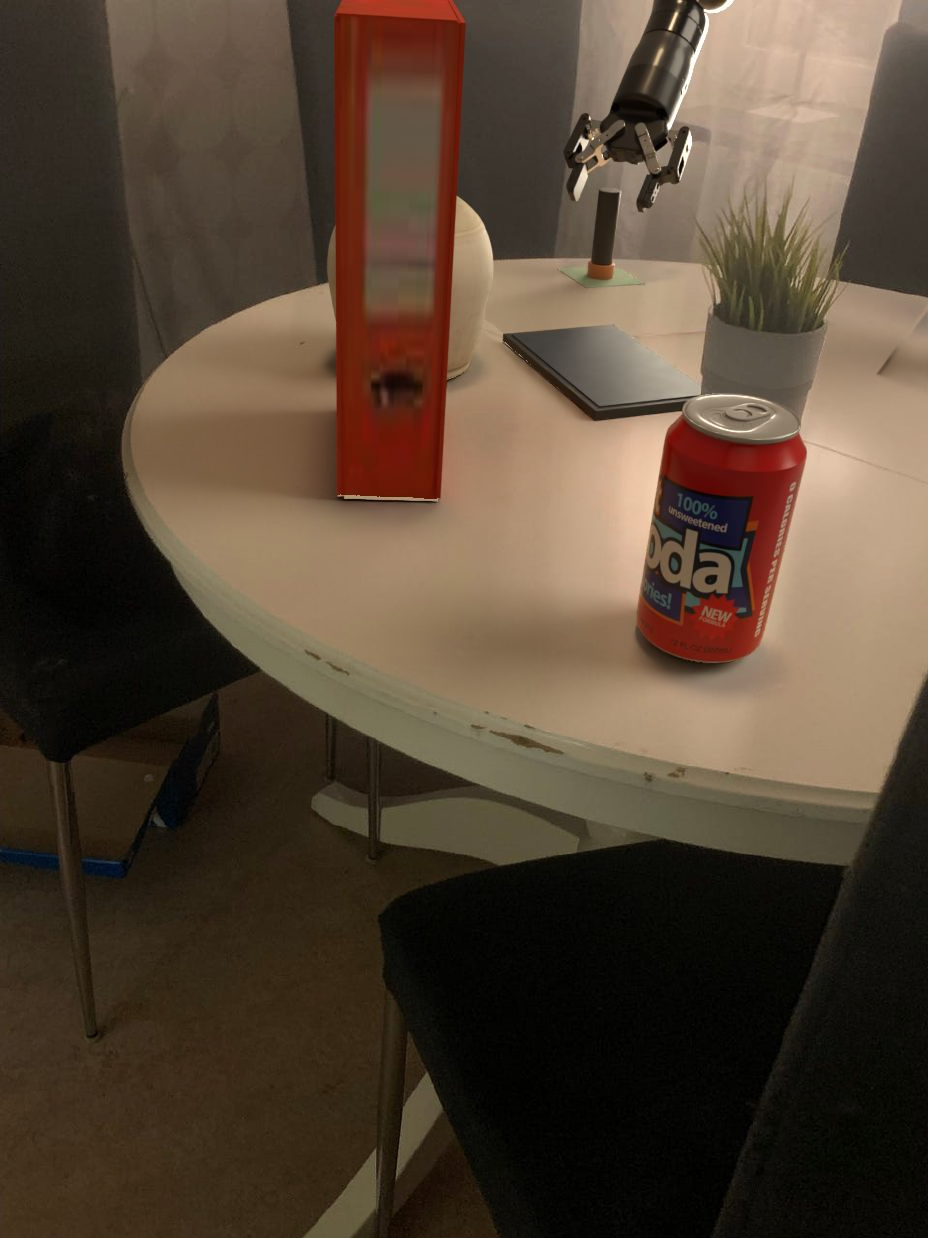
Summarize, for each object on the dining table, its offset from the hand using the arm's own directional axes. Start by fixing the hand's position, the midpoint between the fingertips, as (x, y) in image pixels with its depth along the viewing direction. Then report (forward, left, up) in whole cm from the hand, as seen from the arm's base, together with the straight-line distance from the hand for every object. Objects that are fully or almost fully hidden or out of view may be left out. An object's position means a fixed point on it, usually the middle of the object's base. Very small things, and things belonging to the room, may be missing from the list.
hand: (605, 202), depth 126 cm
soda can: (+29, +70, -10) cm, 76 cm away
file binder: (+39, +39, -10) cm, 56 cm away
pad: (-1, -1, -9) cm, 10 cm away
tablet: (+13, +27, -9) cm, 31 cm away
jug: (+31, +20, -10) cm, 38 cm away
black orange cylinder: (-1, -1, -9) cm, 9 cm away
